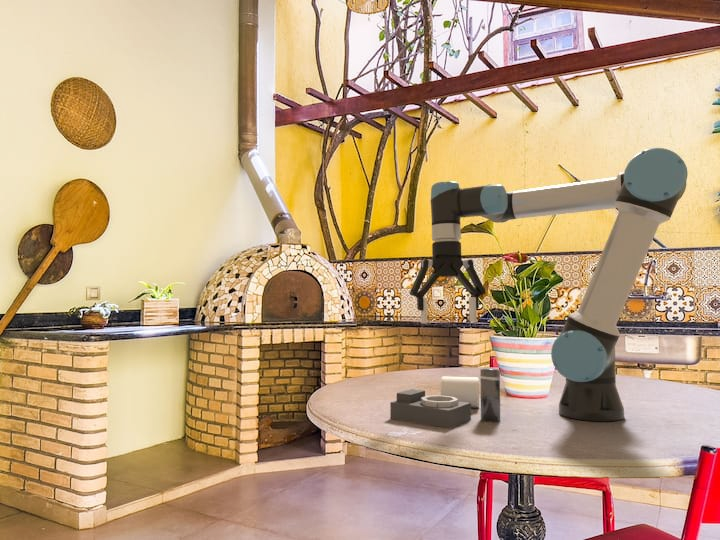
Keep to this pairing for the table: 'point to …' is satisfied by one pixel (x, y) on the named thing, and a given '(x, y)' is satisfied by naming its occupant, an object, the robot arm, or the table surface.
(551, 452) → the table surface
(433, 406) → the camera body
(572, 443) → the table surface
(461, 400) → the cream upright block
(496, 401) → the dark metallic upright block
